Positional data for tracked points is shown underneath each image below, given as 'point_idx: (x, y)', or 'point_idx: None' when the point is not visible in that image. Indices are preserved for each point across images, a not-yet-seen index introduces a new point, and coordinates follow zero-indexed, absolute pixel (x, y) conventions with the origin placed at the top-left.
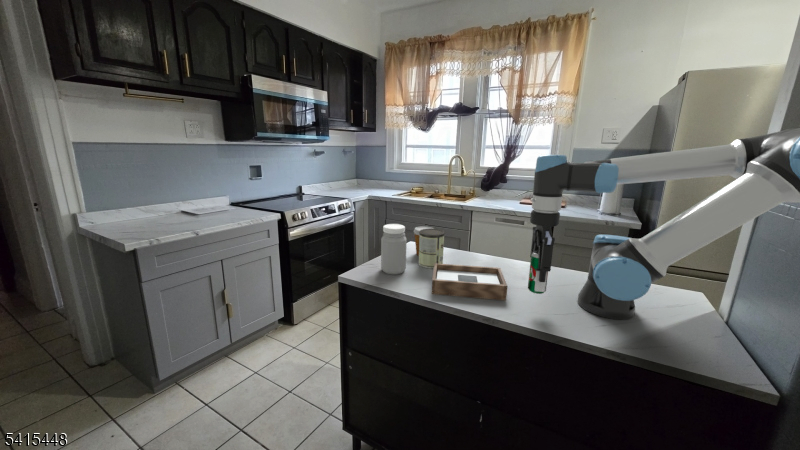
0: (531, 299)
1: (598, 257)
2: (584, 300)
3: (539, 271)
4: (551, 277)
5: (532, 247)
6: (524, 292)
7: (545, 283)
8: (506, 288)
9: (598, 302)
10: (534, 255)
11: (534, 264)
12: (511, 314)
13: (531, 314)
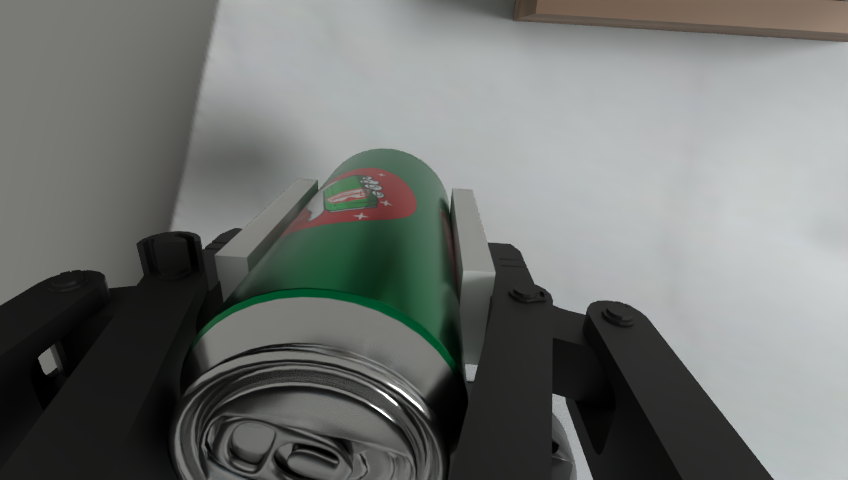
0: (532, 192)
1: None
2: None
3: (223, 271)
4: (806, 380)
5: (654, 434)
6: (627, 178)
7: None
8: (532, 8)
9: None
10: (241, 336)
11: (259, 261)
12: (325, 12)
13: (351, 138)
